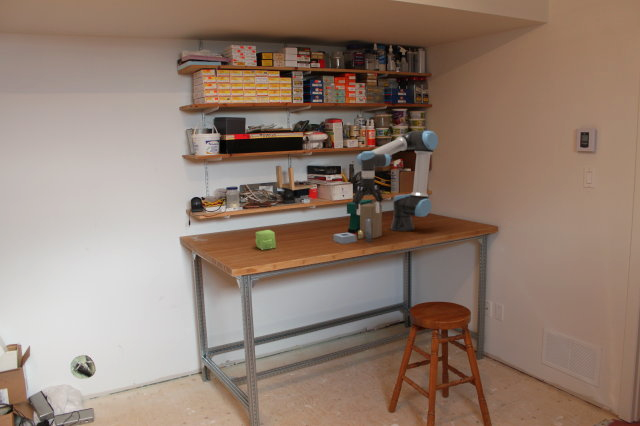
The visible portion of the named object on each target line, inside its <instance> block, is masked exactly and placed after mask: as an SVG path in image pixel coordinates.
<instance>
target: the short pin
mask: <svg viewBox="0 0 640 426" xmlns="http://www.w3.org/2000/svg"><path fill="white" fill-rule="evenodd" d="M357 239H358V240H364V237H363V230H358V235H357Z"/></svg>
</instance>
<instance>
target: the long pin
mask: <svg viewBox="0 0 640 426" xmlns="http://www.w3.org/2000/svg"><path fill="white" fill-rule="evenodd" d="M365 243H372V238H371V218H366V237H365Z"/></svg>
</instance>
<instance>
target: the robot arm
mask: <svg viewBox="0 0 640 426" xmlns="http://www.w3.org/2000/svg"><path fill="white" fill-rule="evenodd" d="M438 145H439V138H438V135H437V134H436V133H435V132H434V131H433V130H412V131H408V132H406V133H404V134H402V135H399V136H397V137H396V138H395V139H394V140H393V141H390V142H388V143H386V144H383V145H381V146H379V147H376V148H375V149H372V150H368V151H362V152H361V153H359V154H358V155H357V158H356V162H357V164H358V165H360V166H361V186H357V188H356V192H355V195H354V197H353V199H352V202H353V203H355V204H356V209H357V215H360V204H359V203H360V201H361V200H363V199H364V196H366V195H370V194H371V195H372V196H373V197H374V199H375V204H376V213H379V207H380V204H381V203H382V201H384V197H383V195H382V193H381V191H380V185H377V184H375V183H376V182H375V177H376V175H375V172H376V171H375V168H382V167H384V168H385V167H388V166H389V165H390V164H391V156H392V155H394V154H396V153H398V152H400V151H402V152H403V151H406V150H414V153H415V154H416V156H415V157H416V158H415V166H414V167H415V169H414V178H413V186H412V187H413V188H412V192H411V193H406V194H398V195H397V194H396V195H394V197H393V200H392V201H393V218H392V222H391V225H390V230H392V231H396V232H409V231H410V232H412V231H413V230H415V225H414V222H413V221H414V220H413V219H412V216H415V217H418V218H419V217H421V218H423V217H426V216H428V214H429V213H430V212H431V210H432V205H433V204H432V202H431V200H430V199H429V195H428V190H427V189H428V182H429V172H430V162H431V155H432V154H434V150H436V148H437V147H438Z"/></svg>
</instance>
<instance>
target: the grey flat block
mask: <svg viewBox="0 0 640 426" xmlns="http://www.w3.org/2000/svg"><path fill="white" fill-rule="evenodd" d="M332 237H333V242H335V243H338V244H341V245H343V244H350V243H351V244H352V243H357V235H354V234H351V233H348V232H342V233H333V236H332Z"/></svg>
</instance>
